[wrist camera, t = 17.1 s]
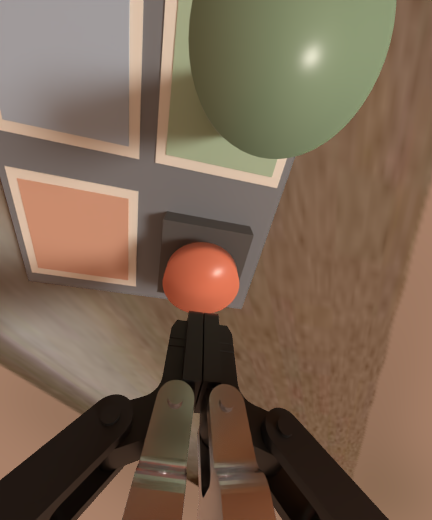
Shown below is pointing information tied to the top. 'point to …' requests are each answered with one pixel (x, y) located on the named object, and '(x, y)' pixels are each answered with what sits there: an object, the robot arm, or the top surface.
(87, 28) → the colouring board
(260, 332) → the top surface
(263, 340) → the top surface
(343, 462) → the top surface
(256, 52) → the green rounded rod
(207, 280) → the button
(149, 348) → the top surface
